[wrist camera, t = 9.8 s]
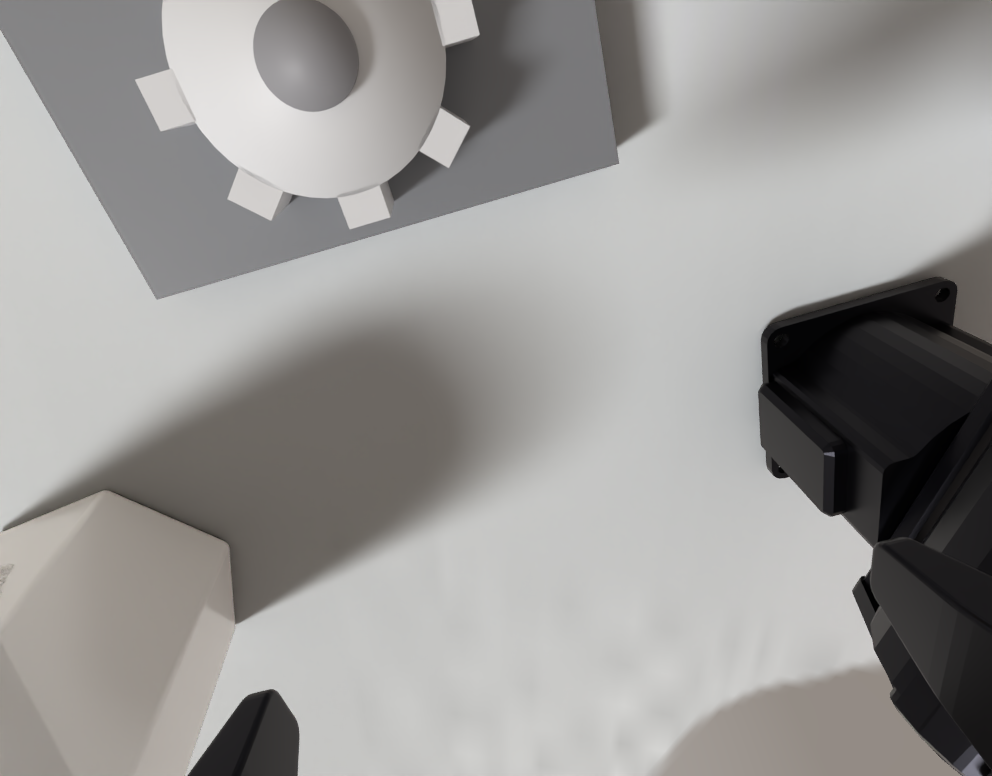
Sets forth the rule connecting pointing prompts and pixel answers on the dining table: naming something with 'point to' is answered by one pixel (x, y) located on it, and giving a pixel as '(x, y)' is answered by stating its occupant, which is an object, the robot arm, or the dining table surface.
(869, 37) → the dining table surface
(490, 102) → the plate
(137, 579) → the jar
